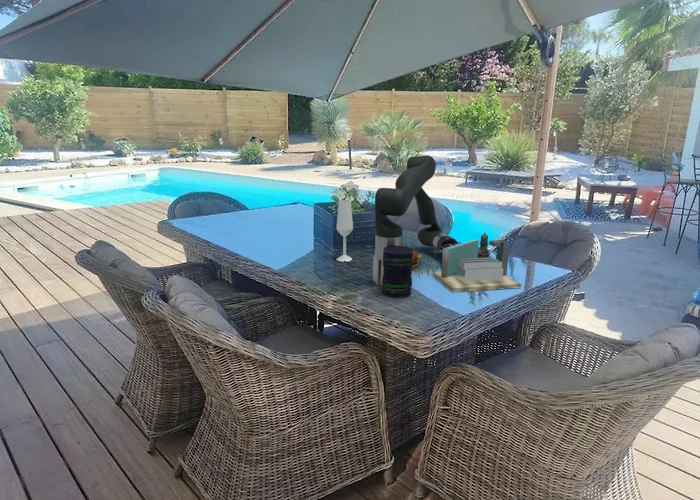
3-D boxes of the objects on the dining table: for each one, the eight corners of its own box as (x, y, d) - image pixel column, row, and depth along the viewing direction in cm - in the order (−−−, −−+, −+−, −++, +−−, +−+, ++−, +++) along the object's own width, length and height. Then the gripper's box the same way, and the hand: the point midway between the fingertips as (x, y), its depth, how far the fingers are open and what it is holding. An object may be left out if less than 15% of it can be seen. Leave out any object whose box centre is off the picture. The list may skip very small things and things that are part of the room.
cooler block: (464, 284, 173) (466, 250, 170) (451, 274, 184) (453, 242, 181) (516, 281, 177) (519, 247, 174) (500, 271, 188) (503, 240, 185)
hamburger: (410, 270, 194) (410, 254, 192) (389, 266, 200) (389, 249, 198) (423, 265, 201) (423, 249, 199) (403, 261, 207) (403, 245, 205)
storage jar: (409, 288, 174) (411, 245, 170) (413, 298, 164) (415, 253, 161) (380, 288, 174) (381, 245, 170) (383, 298, 164) (384, 253, 160)
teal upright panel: (445, 277, 180) (446, 250, 177) (439, 275, 181) (441, 248, 179) (477, 265, 194) (479, 240, 192) (472, 264, 196) (474, 239, 193)
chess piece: (479, 258, 212) (481, 229, 209) (492, 260, 208) (494, 232, 205) (472, 261, 207) (474, 232, 204) (486, 263, 204) (488, 234, 201)
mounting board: (452, 292, 170) (452, 288, 169) (432, 276, 187) (433, 272, 186) (520, 288, 175) (521, 283, 175) (495, 272, 192) (496, 268, 192)
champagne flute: (350, 262, 204) (351, 202, 198) (334, 260, 205) (334, 201, 199) (354, 257, 210) (354, 200, 204) (338, 256, 212) (338, 199, 205)
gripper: (430, 236, 204) (447, 247, 188) (460, 234, 207) (480, 245, 191) (429, 254, 206) (446, 266, 190) (459, 252, 209) (479, 264, 193)
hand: (463, 255), depth 190 cm, fingers closed
